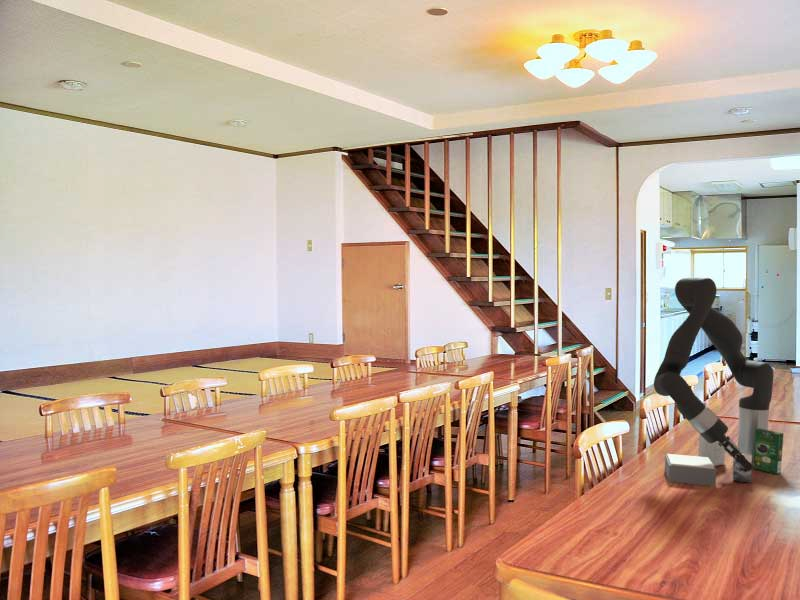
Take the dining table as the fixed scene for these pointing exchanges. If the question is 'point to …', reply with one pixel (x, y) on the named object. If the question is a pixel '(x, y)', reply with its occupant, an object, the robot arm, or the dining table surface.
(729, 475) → the dining table surface
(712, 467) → the stand
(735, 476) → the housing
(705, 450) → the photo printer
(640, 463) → the dining table surface
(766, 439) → the coffee box
